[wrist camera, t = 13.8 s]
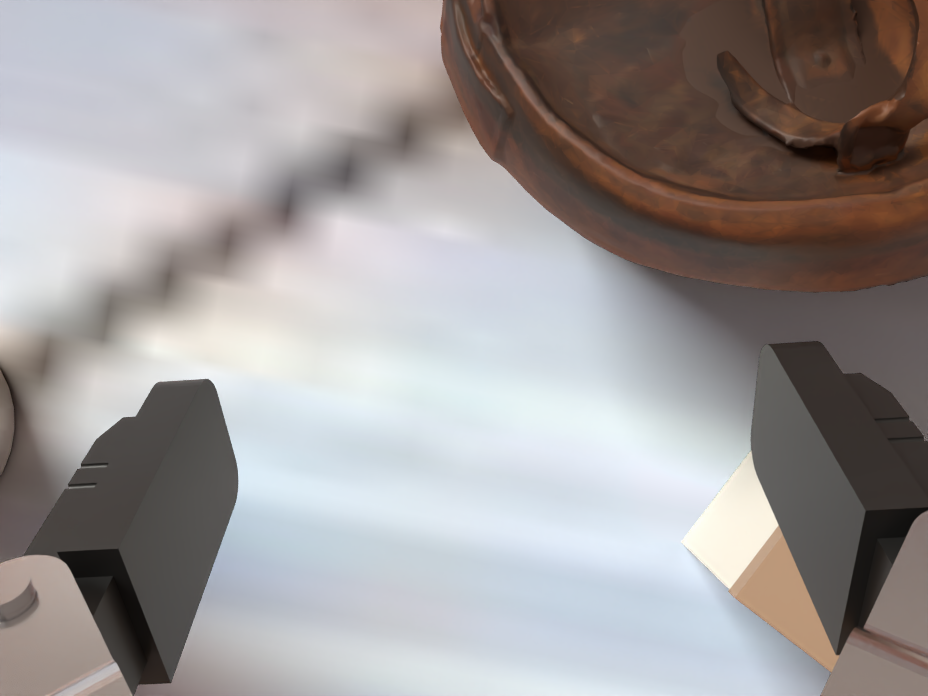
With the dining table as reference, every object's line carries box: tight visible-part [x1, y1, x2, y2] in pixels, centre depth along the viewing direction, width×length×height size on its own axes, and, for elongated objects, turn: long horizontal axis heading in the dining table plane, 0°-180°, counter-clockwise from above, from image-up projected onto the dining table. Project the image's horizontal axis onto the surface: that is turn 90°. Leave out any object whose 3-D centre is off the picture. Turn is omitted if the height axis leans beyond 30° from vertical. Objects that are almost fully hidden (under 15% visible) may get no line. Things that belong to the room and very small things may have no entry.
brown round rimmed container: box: [440, 0, 928, 293], centre depth 28 cm, size 18×20×18 cm
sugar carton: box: [681, 451, 840, 672], centre depth 29 cm, size 6×6×12 cm
